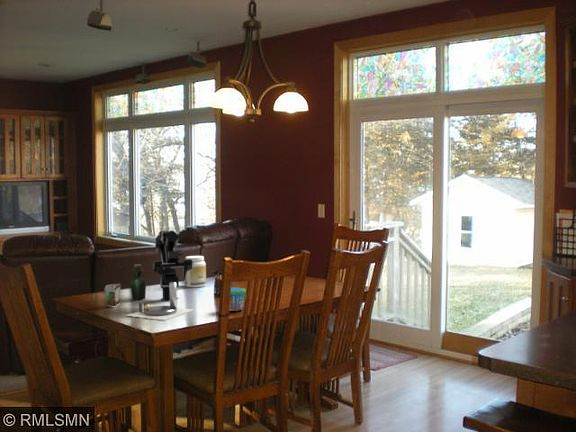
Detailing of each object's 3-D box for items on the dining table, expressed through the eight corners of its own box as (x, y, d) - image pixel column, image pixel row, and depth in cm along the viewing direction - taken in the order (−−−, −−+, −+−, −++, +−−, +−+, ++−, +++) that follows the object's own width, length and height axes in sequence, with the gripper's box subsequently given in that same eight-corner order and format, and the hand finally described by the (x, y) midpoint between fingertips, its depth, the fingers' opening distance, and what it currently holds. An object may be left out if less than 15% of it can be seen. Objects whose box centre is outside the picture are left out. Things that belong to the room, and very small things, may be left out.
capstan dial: (137, 313, 296) (136, 285, 295) (157, 307, 309) (156, 279, 308) (163, 316, 289) (162, 287, 288) (183, 309, 302) (182, 281, 301)
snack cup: (238, 306, 313) (237, 285, 312) (254, 309, 306) (253, 287, 305) (214, 312, 301) (214, 290, 300) (230, 315, 294) (230, 292, 294)
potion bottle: (139, 297, 339) (138, 263, 338) (150, 298, 335) (149, 264, 334) (127, 300, 333) (126, 265, 331) (138, 301, 328) (137, 266, 327)
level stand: (126, 316, 294) (125, 305, 294) (156, 307, 314) (155, 296, 313) (165, 320, 284) (164, 308, 284) (193, 310, 304) (193, 299, 304)
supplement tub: (210, 285, 373) (209, 256, 372) (197, 288, 362) (196, 258, 361) (193, 283, 379) (193, 254, 378) (180, 286, 369) (179, 257, 368)
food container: (108, 303, 325) (108, 283, 324) (121, 303, 325) (120, 283, 324) (102, 308, 312) (101, 288, 312) (114, 308, 312) (114, 287, 312)
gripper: (153, 244, 311) (156, 272, 302) (191, 243, 317) (196, 270, 308) (151, 257, 319) (154, 284, 311) (189, 255, 325) (193, 282, 316)
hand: (174, 280), depth 311 cm, fingers open, 9 cm apart
